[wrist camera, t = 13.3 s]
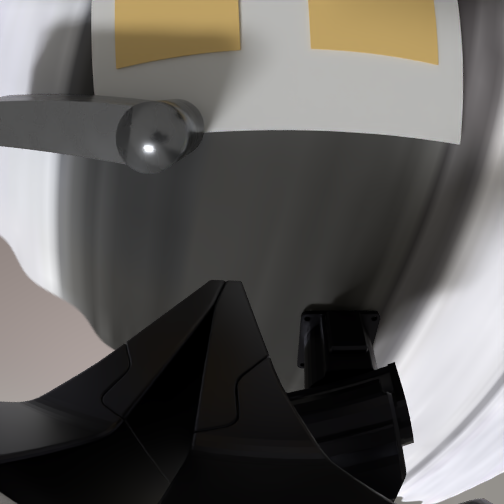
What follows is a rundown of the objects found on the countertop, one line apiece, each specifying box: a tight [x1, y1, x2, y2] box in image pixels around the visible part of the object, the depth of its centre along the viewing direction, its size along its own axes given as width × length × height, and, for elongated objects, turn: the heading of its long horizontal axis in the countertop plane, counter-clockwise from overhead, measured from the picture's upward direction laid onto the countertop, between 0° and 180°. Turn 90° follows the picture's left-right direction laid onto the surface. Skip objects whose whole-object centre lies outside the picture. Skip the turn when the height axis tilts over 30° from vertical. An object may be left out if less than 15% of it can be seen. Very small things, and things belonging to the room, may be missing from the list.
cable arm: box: [0, 94, 204, 174], centre depth 15 cm, size 17×4×4 cm, turn 78°
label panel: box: [91, 0, 463, 145], centre depth 15 cm, size 15×24×2 cm, turn 92°
